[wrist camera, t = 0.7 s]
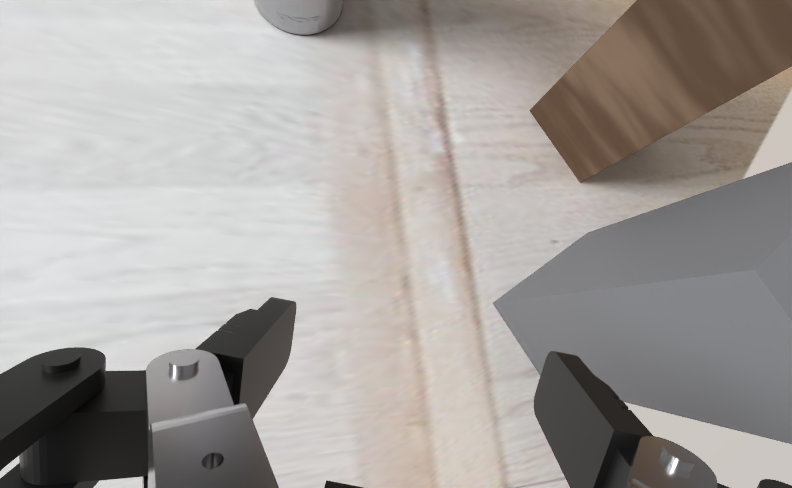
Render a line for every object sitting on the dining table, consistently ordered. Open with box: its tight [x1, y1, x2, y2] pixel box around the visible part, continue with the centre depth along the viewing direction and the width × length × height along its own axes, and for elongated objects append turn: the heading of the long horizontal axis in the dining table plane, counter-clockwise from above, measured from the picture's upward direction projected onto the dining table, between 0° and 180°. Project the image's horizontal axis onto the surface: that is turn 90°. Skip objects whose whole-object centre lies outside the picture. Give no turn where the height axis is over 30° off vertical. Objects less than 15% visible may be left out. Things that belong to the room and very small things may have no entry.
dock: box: [493, 163, 792, 444], centre depth 27 cm, size 14×9×23 cm, turn 123°
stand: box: [530, 0, 792, 182], centre depth 29 cm, size 13×10×30 cm
